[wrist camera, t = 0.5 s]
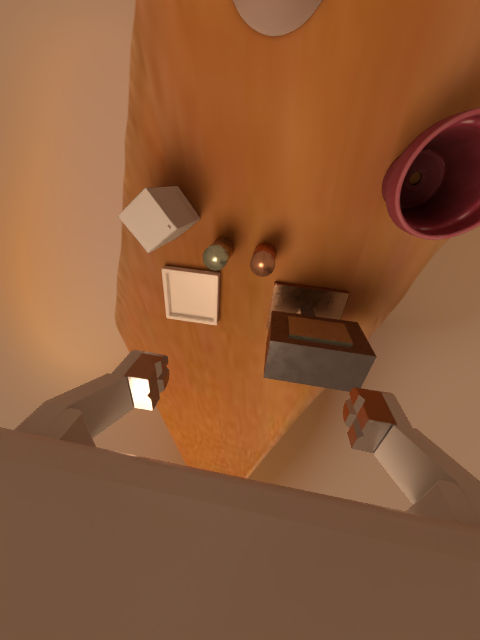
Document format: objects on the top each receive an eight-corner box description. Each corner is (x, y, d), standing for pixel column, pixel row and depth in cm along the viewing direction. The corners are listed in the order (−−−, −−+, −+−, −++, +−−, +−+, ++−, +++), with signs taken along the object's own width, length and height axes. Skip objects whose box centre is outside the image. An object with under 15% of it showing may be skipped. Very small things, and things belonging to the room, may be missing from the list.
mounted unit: (274, 281, 52) (272, 330, 35) (347, 290, 51) (381, 346, 34) (267, 326, 58) (262, 385, 41) (331, 335, 57) (354, 400, 40)
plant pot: (408, 240, 44) (450, 259, 33) (347, 200, 42) (371, 207, 31) (483, 158, 37) (568, 149, 26) (414, 107, 35) (475, 73, 24)
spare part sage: (213, 236, 49) (202, 245, 42) (234, 238, 49) (226, 248, 42) (213, 257, 51) (202, 269, 45) (233, 259, 51) (225, 271, 44)
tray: (165, 265, 54) (161, 268, 52) (220, 272, 53) (218, 275, 51) (170, 313, 61) (166, 318, 59) (218, 320, 60) (216, 325, 58)
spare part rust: (255, 241, 48) (251, 251, 42) (277, 243, 48) (276, 254, 41) (253, 262, 51) (249, 275, 44) (273, 264, 50) (272, 277, 43)
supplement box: (178, 184, 45) (146, 185, 34) (201, 219, 48) (178, 229, 37) (152, 207, 48) (115, 215, 37) (176, 239, 51) (148, 254, 40)
